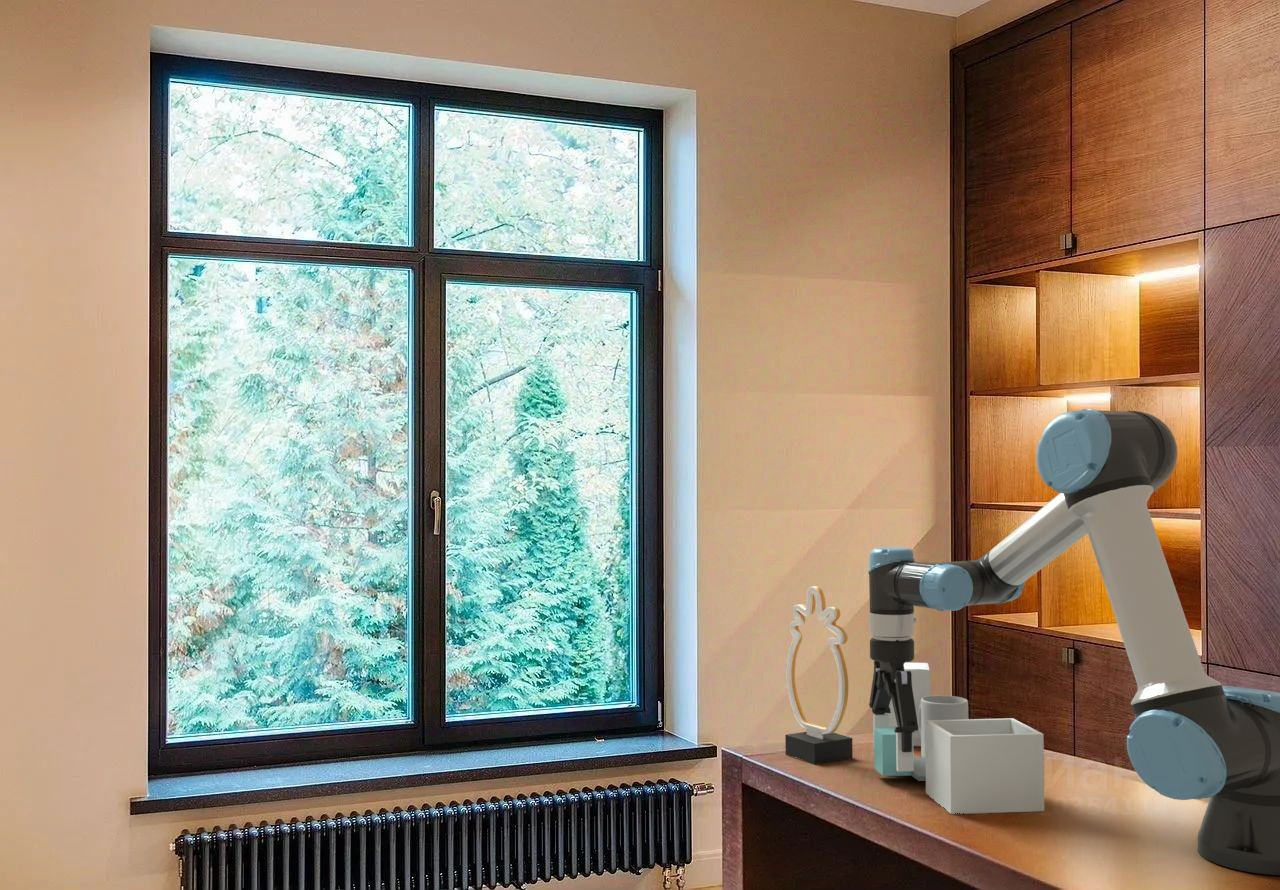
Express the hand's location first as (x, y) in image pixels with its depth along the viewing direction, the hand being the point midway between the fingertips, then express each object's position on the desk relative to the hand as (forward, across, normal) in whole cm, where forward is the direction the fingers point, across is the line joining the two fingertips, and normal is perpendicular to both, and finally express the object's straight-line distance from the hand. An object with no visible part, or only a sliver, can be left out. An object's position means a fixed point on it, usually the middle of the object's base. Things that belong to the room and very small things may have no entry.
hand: (892, 761), depth 209 cm
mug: (+4, +15, -13) cm, 20 cm away
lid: (+3, 0, -8) cm, 8 cm away
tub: (+3, -15, -10) cm, 18 cm away
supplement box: (+4, +28, -11) cm, 30 cm away
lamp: (+3, +18, +9) cm, 20 cm away
